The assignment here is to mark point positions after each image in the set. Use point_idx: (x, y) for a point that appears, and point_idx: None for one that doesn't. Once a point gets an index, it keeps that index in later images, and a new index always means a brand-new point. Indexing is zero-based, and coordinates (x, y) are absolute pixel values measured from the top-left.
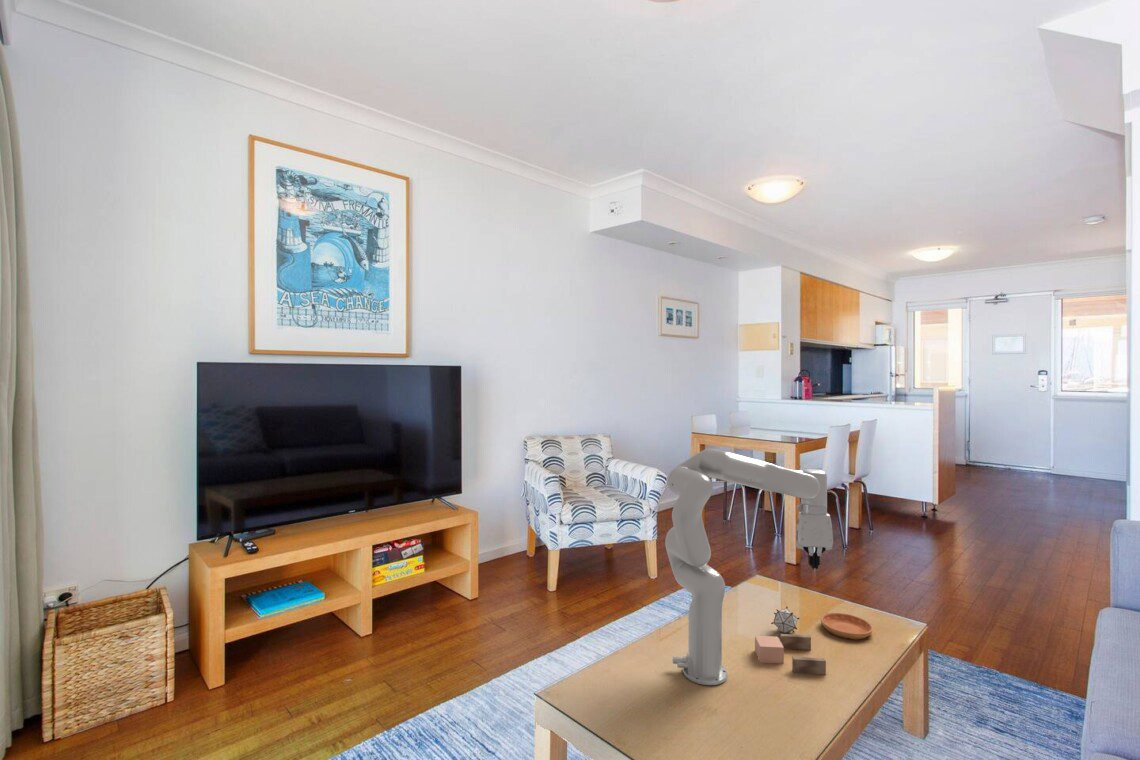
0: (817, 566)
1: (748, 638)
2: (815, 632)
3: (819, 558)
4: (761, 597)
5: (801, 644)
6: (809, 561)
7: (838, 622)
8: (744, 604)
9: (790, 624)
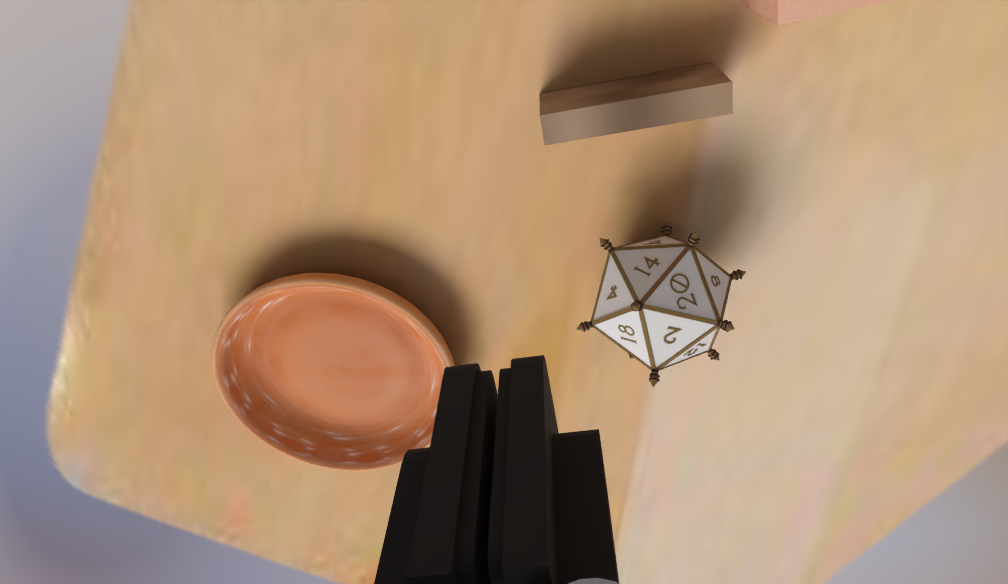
0: (451, 391)
1: (889, 136)
2: (492, 305)
3: (383, 560)
4: (698, 566)
5: (595, 92)
6: (605, 484)
7: (375, 416)
8: (799, 494)
9: (642, 253)
